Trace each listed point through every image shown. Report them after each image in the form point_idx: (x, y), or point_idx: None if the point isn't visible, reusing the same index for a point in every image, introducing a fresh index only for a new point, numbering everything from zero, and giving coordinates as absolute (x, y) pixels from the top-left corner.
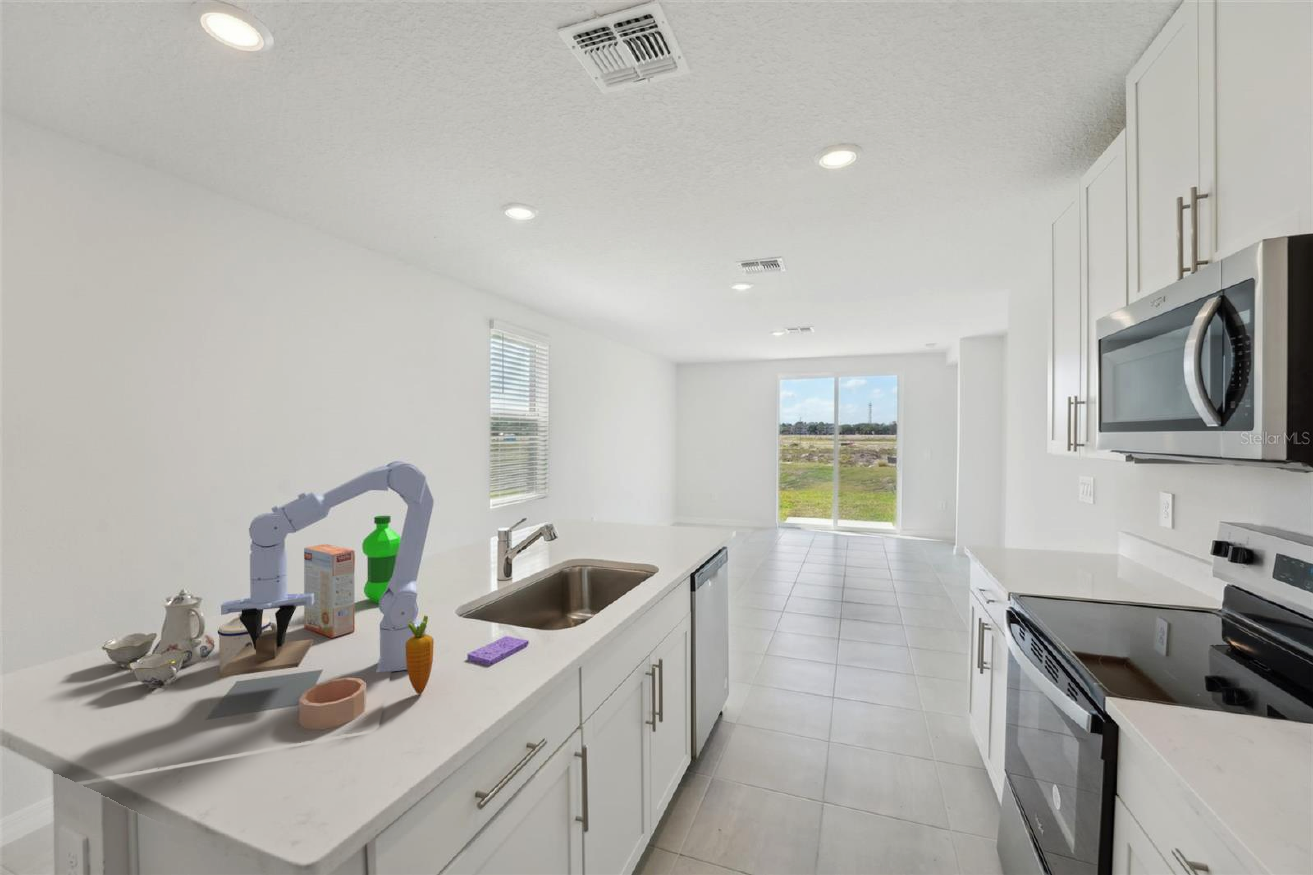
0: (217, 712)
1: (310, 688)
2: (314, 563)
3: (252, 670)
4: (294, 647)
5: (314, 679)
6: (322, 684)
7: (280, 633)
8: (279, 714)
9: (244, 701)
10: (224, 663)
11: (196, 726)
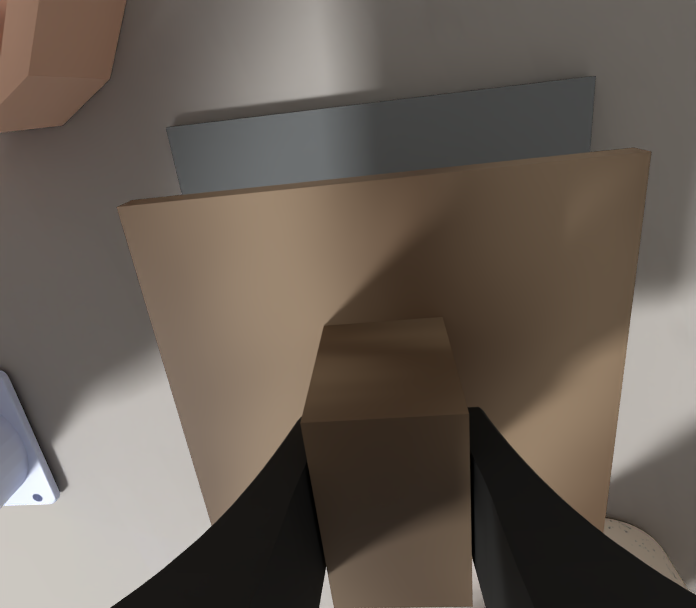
0: (559, 143)
1: (26, 25)
2: None
3: (415, 173)
4: None
5: None
6: None
7: (269, 483)
8: (261, 72)
9: None
10: (661, 565)
11: (620, 41)
